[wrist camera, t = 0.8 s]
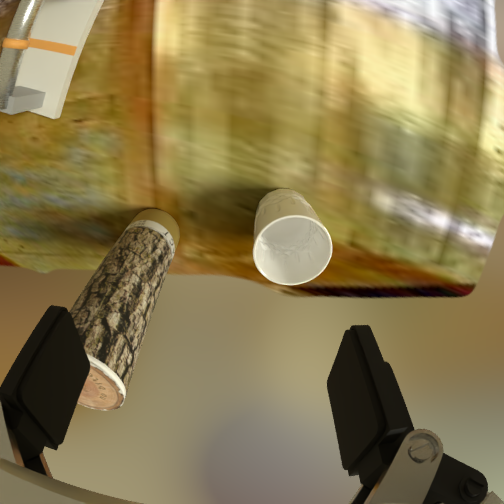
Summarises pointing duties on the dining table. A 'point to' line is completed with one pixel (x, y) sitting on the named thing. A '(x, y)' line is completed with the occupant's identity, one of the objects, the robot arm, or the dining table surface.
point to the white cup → (289, 239)
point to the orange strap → (39, 45)
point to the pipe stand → (52, 57)
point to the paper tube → (122, 305)
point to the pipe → (8, 63)
